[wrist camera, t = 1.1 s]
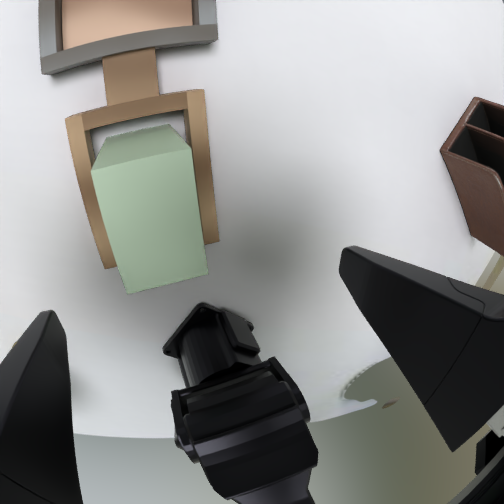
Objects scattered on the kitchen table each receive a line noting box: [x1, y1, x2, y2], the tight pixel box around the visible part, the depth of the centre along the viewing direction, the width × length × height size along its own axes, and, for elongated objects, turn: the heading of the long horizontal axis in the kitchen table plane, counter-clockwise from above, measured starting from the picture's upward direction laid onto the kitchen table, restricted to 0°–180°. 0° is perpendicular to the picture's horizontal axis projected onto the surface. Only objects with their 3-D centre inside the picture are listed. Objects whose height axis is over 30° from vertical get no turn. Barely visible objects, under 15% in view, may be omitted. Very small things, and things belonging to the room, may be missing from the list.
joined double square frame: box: [39, 0, 219, 269], centre depth 15 cm, size 21×10×2 cm, turn 3°
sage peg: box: [91, 124, 209, 294], centre depth 16 cm, size 6×4×8 cm, turn 3°
